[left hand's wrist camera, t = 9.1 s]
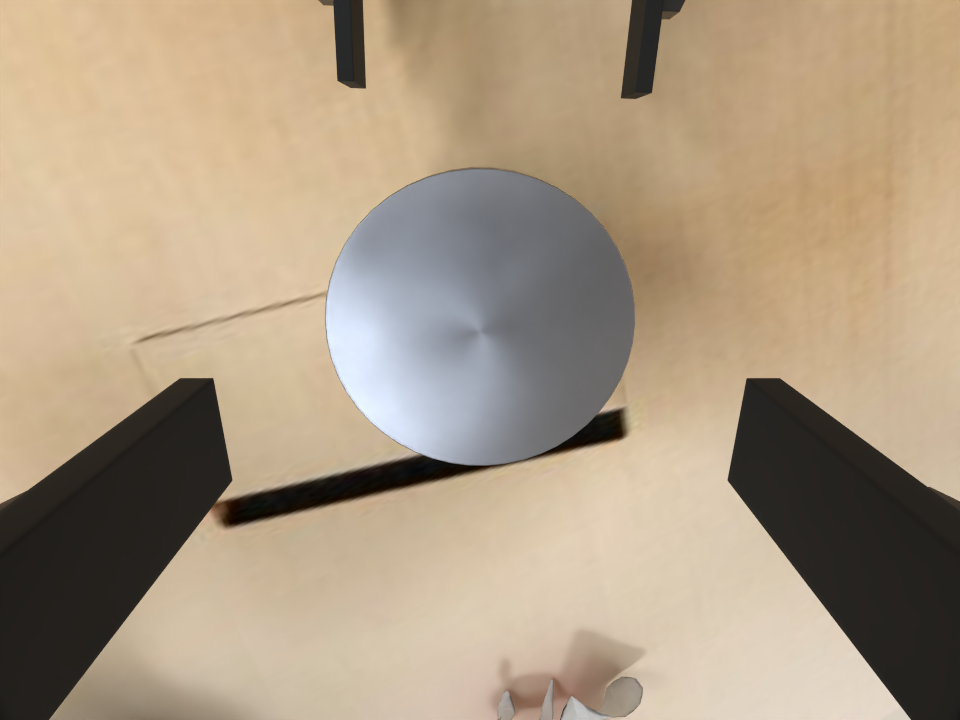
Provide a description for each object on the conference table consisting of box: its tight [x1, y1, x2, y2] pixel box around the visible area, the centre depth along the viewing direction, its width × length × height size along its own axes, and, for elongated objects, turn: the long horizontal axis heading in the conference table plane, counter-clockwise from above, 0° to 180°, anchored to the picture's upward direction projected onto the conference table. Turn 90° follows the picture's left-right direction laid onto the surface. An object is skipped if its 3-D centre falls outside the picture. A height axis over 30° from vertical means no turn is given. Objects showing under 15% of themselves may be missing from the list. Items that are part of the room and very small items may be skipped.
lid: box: [325, 167, 635, 465], centre depth 21 cm, size 11×11×2 cm
